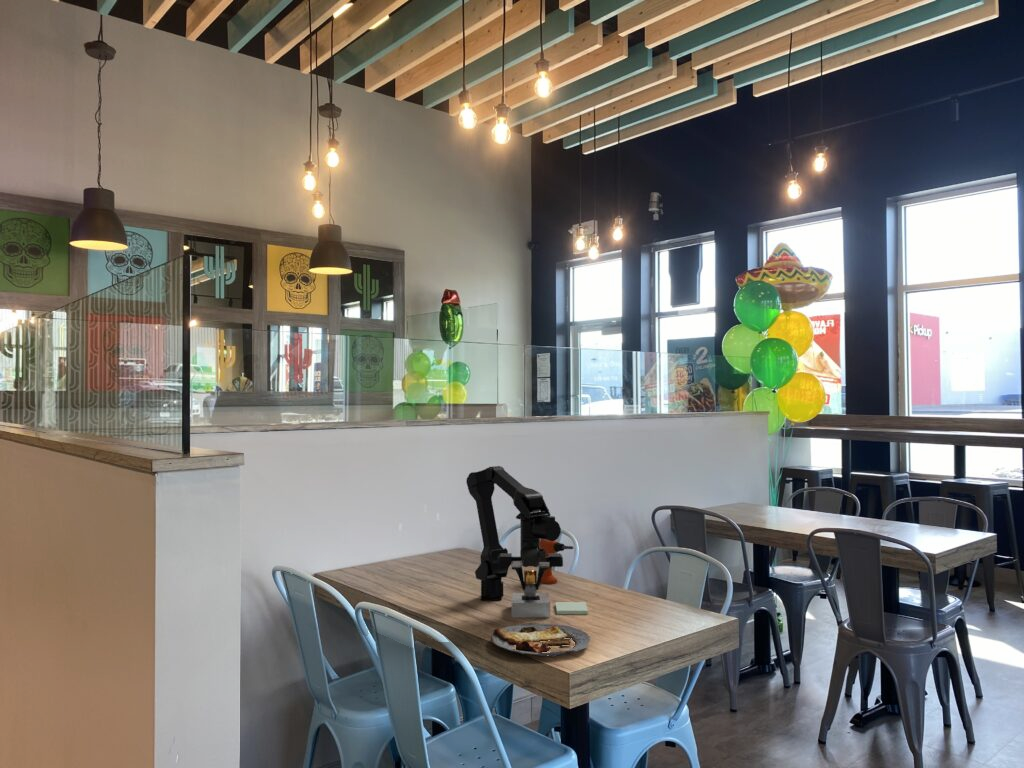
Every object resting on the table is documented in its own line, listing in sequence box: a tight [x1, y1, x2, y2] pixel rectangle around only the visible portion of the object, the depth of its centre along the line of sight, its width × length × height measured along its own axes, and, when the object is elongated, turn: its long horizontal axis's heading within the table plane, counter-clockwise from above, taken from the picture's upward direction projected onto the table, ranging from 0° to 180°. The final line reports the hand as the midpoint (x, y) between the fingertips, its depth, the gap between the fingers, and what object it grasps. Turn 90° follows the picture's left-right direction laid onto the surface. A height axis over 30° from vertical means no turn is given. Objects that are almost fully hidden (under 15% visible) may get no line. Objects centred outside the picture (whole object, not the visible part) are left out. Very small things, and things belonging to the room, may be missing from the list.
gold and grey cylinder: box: [523, 568, 538, 600], centre depth 225 cm, size 4×4×9 cm
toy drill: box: [540, 539, 574, 585], centre depth 257 cm, size 5×19×15 cm, turn 36°
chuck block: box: [511, 592, 551, 618], centre depth 225 cm, size 11×11×4 cm
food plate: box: [490, 622, 591, 657], centre depth 196 cm, size 25×23×4 cm
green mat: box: [555, 601, 589, 615], centre depth 227 cm, size 9×9×1 cm
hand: (530, 589), depth 225 cm, fingers closed on gold and grey cylinder, 4 cm apart
